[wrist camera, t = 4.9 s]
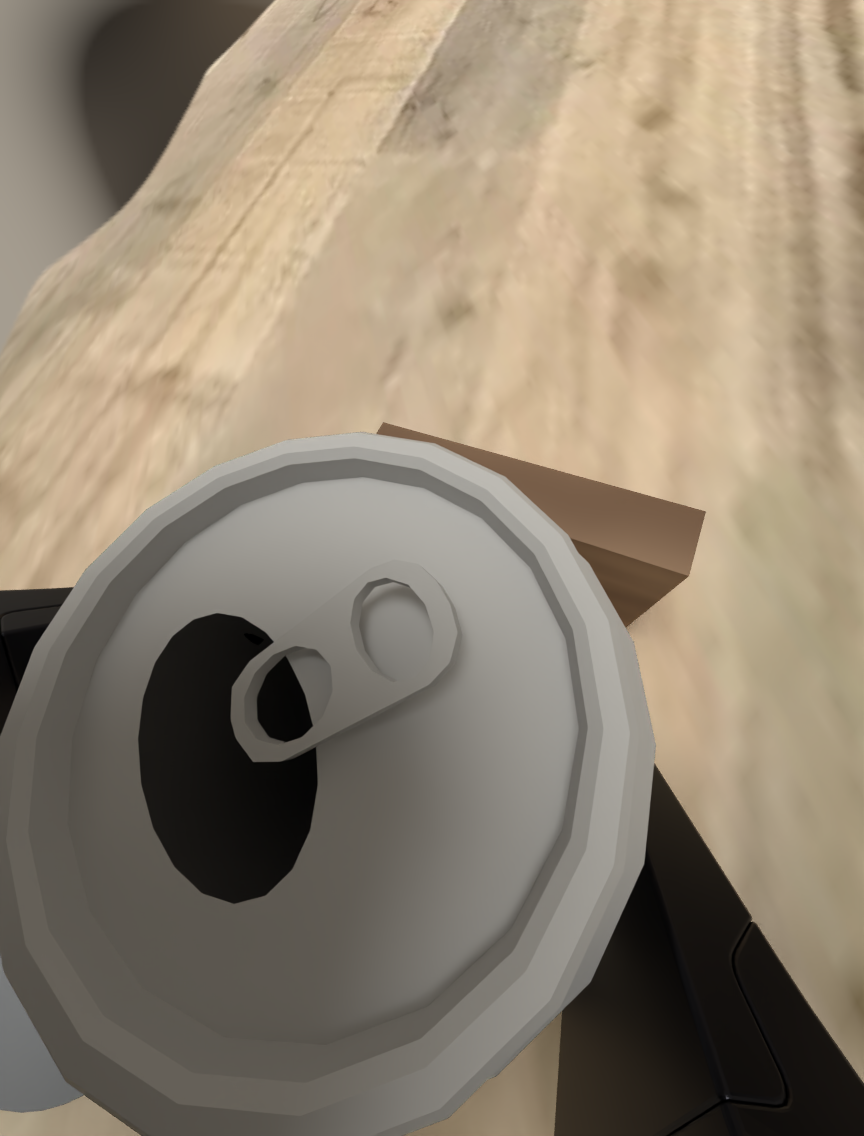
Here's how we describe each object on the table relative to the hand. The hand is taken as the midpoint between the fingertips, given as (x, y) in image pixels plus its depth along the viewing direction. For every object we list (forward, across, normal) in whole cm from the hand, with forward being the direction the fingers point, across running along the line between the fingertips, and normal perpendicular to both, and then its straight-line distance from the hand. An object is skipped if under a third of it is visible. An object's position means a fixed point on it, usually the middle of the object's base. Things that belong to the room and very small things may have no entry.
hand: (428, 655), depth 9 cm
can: (+4, 0, +6) cm, 7 cm away
